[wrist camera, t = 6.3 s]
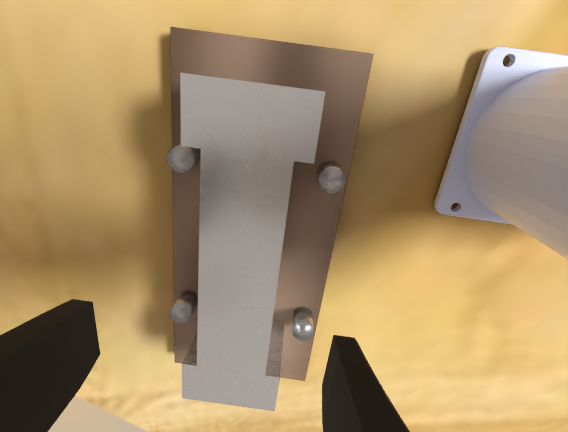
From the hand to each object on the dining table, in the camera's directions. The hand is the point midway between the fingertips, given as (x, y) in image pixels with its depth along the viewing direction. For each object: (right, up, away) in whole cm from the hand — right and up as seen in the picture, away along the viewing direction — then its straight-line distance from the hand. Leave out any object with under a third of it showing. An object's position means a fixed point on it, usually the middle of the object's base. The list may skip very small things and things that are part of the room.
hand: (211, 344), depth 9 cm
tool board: (0, +3, +9) cm, 9 cm away
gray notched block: (0, +3, +8) cm, 8 cm away
